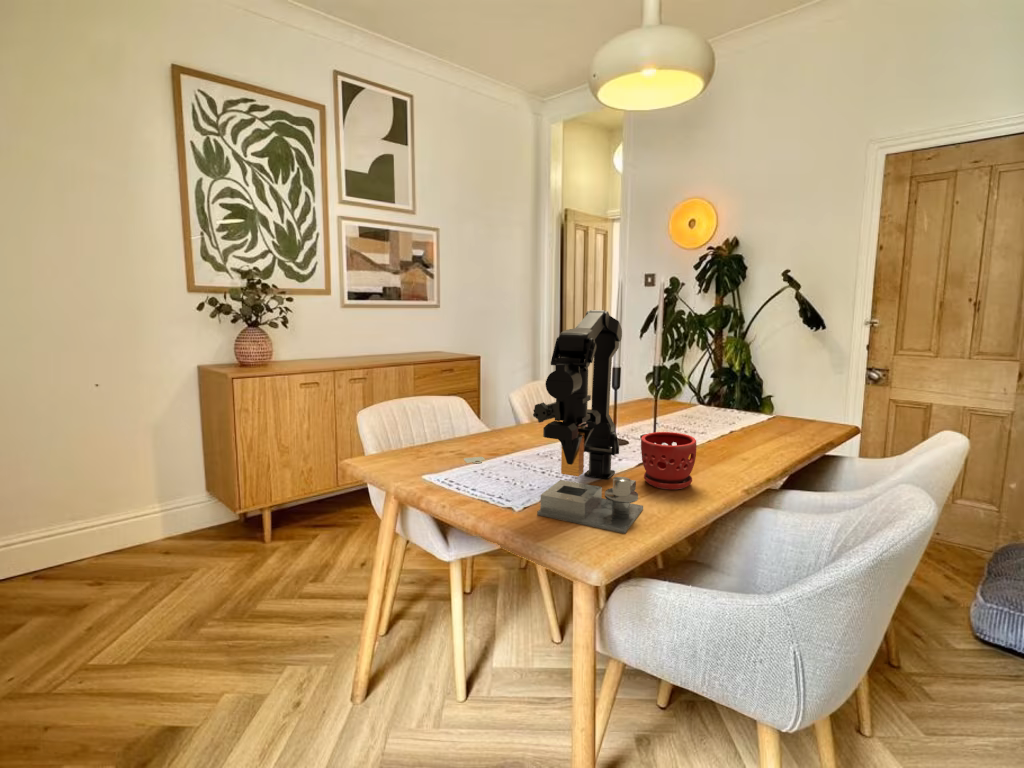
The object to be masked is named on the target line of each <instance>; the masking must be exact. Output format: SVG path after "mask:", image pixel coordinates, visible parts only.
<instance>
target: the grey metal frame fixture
mask: <svg viewBox="0 0 1024 768" xmlns="http://www.w3.org/2000/svg"><path fill="white" fill-rule="evenodd" d="M636 487H637V480H635V479H634V480H633V479H631V478H628V477H625V476H615V477H613V478H612V487H611V488H608V489H606V490H605V491H604V498H603V497H602V496H603V493H602V491H603V487H602V486H598V485H592V484H588V483H582V482H576V481H575V482H574V481H570V480H563V479H560V480H558V481H557V482H555V484H553V485H552V486H551V487H549V488H548V489H547V490H545V491H544V492H543V493H541V494H540V504H539V505H540V509H538V511H537V512H536V513H537V516H541V517H545V518H546V517H547V518H550V519H554V520H560V521H563V522H567V523H574V524H578V525H582V526H587V527H592V528H596V529H602V530H605V531H611V532H614V533H621V534H626V533H628V531H629V529H630V528H631V527H632V525H633V524H634V522H635V521H636V519H637V518H638V517H639V515H640V514H641V513H642V511H644V505H641V504H635V502H637V501H638V499H639V493H638V492H637V491H636V489H637V488H636Z"/></svg>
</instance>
